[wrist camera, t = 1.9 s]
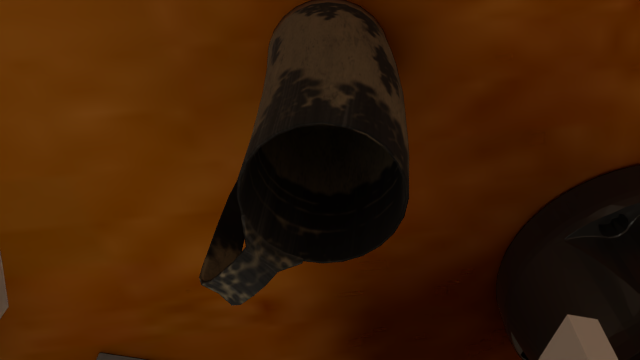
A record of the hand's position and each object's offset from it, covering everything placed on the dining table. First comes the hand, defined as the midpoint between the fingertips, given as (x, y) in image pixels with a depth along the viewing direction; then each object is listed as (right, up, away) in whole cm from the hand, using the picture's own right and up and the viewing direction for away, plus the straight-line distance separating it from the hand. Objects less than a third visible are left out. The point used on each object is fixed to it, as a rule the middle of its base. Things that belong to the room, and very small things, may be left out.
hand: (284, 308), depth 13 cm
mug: (+1, +8, +13) cm, 15 cm away
